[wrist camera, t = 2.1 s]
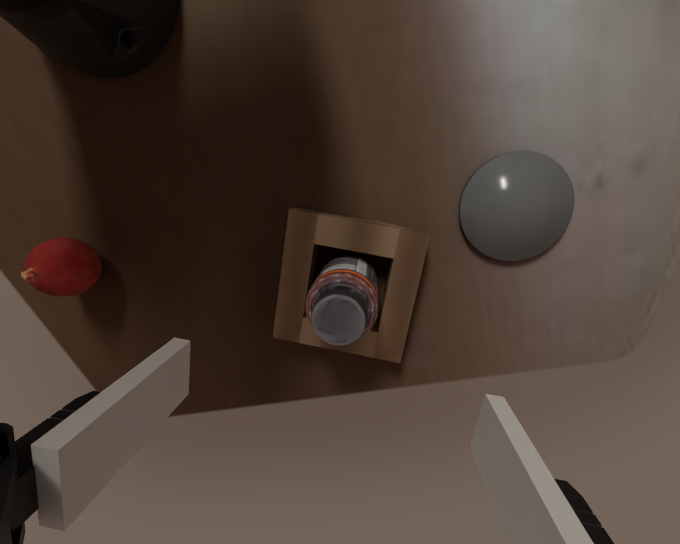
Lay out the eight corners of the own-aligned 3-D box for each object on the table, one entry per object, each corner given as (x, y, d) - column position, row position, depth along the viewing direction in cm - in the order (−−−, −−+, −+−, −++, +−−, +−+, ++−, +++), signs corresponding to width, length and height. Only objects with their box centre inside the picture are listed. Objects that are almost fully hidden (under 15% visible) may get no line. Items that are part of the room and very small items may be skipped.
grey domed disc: (447, 249, 34) (448, 250, 33) (474, 143, 31) (476, 142, 30) (550, 268, 33) (553, 269, 32) (586, 161, 31) (590, 161, 30)
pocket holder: (280, 326, 37) (272, 337, 34) (296, 207, 34) (289, 209, 31) (398, 349, 37) (400, 363, 34) (425, 230, 33) (430, 234, 30)
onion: (113, 293, 38) (47, 319, 31) (66, 272, 38) (-12, 293, 31) (125, 246, 37) (59, 262, 29) (76, 224, 37) (-3, 234, 29)
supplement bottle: (375, 310, 36) (375, 364, 25) (319, 305, 36) (296, 356, 25) (380, 254, 34) (382, 286, 23) (321, 250, 35) (297, 279, 24)
